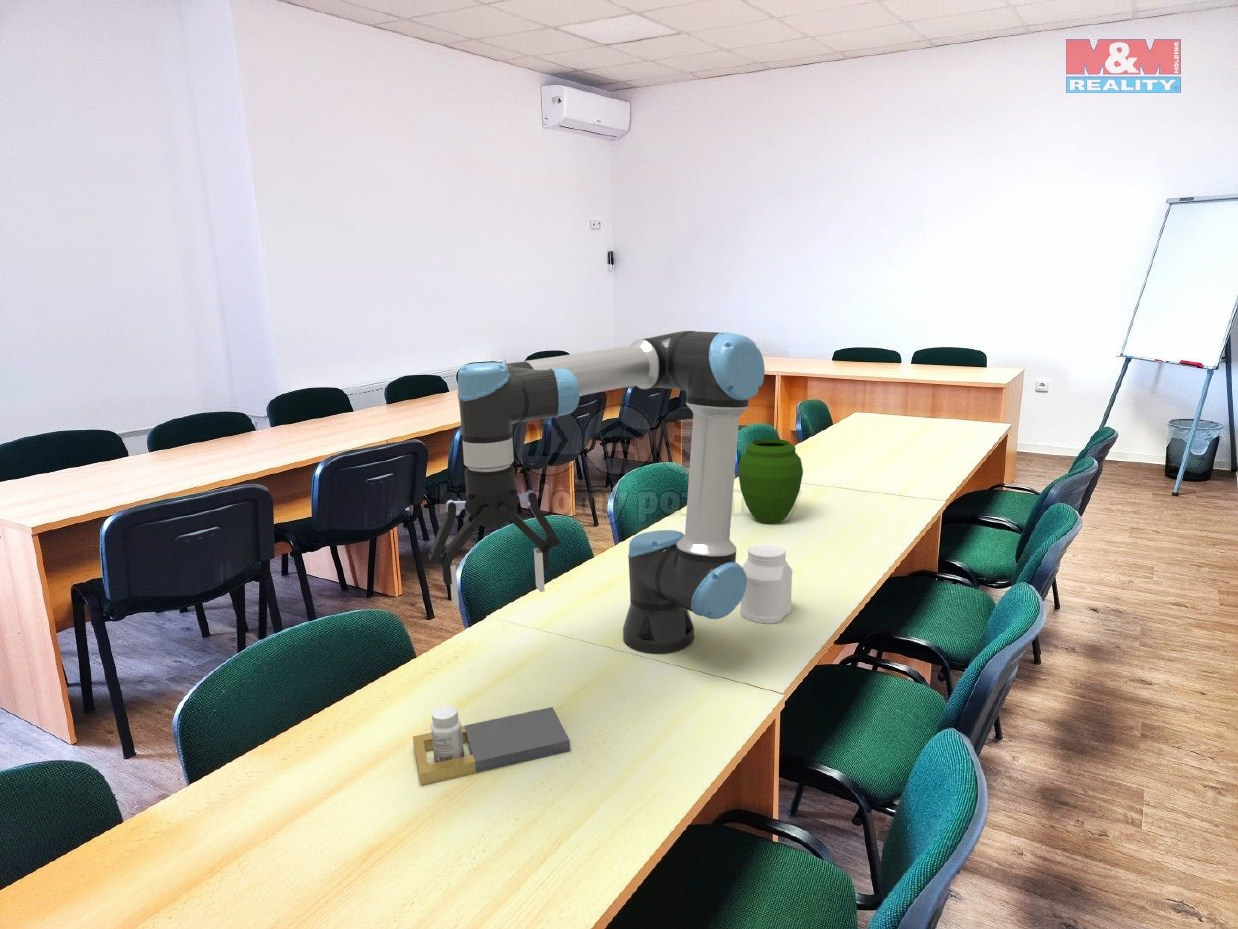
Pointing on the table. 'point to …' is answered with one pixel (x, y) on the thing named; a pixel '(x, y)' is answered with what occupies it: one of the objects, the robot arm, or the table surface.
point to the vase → (770, 479)
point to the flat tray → (496, 745)
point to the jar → (767, 584)
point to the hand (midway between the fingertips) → (498, 595)
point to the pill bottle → (446, 734)
